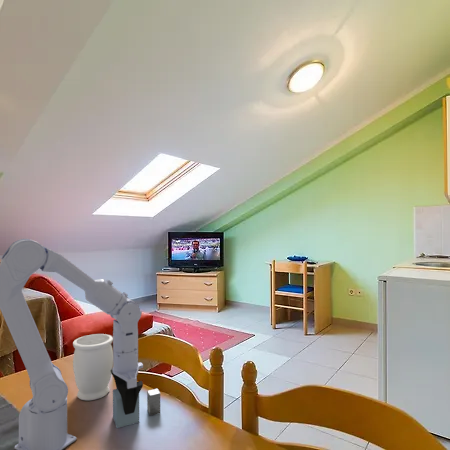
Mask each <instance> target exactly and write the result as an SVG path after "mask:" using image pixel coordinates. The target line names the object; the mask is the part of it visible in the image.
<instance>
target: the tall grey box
mask: <svg viewBox="0 0 450 450" xmlns="http://www.w3.org/2000/svg"><path fill="white" fill-rule="evenodd" d="M112 418H113V421H114V424H115V427H116V429H119V428H122V427H127V426H130V425H134V424H137V423H140V394H139V395H138V398H137V402H136V407H135V411H134V413H131V414H127V415H125V413H124V409H123V403H122V398H121V395H120V393H119V391H118V389H117V388H115V389H112Z"/></svg>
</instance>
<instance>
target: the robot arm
mask: <svg viewBox="0 0 450 450" xmlns="http://www.w3.org/2000/svg"><path fill="white" fill-rule="evenodd" d="M1 256H2V257H1V260H0V311H1V314H2V316H3V318H4V321H5V323H6V326H7V327H8V331H9V332H10V334H11V337H12V340H13V341H14V345H15V347H16V349H17V350H18V354H19V355H20V357H21V360H22V362H23V364H24V367H25V369H26V372H27V375H28V378H29V387H30V389H31V393H32V397H31V399H29V400H28V401H26V403H24V405H22V408H21V409H20V412H19V414H18V443H17V444H15V445H14V450H64V449H65V448H66V447H68V446H69V445H71V444H72V443H74V442H75V441H76V440H77V437H76V436H74V435H73V434H69V433H68V395H69V388H68V387H69V386H68V385H67V383H66V382H65V380H64V378H63V376H62V371H61V369H60V368H59V366H56V365H55V364H54V363H53V362H52V359H51V357H50V355H49V353H48V351H47V348H46V346H45V343H44V341H43V339H42V337H41V334H40V332H39V329H38V327H37V324H36V322H35V320H34V317H33V315H32V313H31V310H30V308H29V306H28V303H27V301H26V298H25V296H24V293H23V291H22V290H23V289H24V287H25V286H26V283H27V282H28V280H29V279H30V277H31V276H32V275H33V274H34V273H35V272H37V271H38V270H39V269H40V270H41V271H42V272H46V273H47V272H48V273H57V274H58V275H60V276H62V277H63V278H64V279H66V280H67V281H69V282H70V283H72V284H73V285H75V286H77V287H78V288H79V289H81V290H83V291H84V296H85V300H86V301H87V302H89V303H90V304H92V305H93V306H95V307H96V308H98V309H99V310H101V311H102V312H104V313H105V314H107V315H109V316H110V317H111V318H112V319H113V323H112V324H113V325H112V326H113V327H112V329H113V331H112V337H113V342H112V351H113V366H112V369H111V376H112V377H113V381H114V382H115V386H116V388H115V389H118V391H119V393H120V395H121V398H122V403H123V409H124V413H125V415H127V414H131V413H134V411H135V407H136V402H137V398H138V395H139V396H140V392H141V391H142V388H143V386H144V382H143V381H142V380H139V381H138V379H137V376H138V374H139V370H140V369H143V368H144V364H143V362H139V328H138V327H139V326H138V323H139V320H140V319H141V317H142V313H143V311H142V310H141V307H140V305H139V304H138V303H137V302H136V301H134V300H132V299H130V298H129V297H128V296H129V295H128V293H126V292H121V290H119V289H118V288H116V287H114V286H113V284H114V283H113V281H111V280H109V279H104V278H100V279H99V278H98V279H93V278H92V277H91V276H89V275H88V274H87V273H85V271H83V270H82V269H80V268H79V267H78V266H76V264H74V263H72V262H71V261H70V260H68V258H66V257H65V256H64V255H62V254H60V253H59V252H56V251H54V250H53V249H50V248H48V247H45V246H43V245H42V244H41V243H39V242H38V241H35V240H33V239H30V238H21V239H17V240H15V241H14V242H12V243H11V244H10V245H9V246H8V248H7V249H6V250H5V252H4V253H3V255H1Z"/></svg>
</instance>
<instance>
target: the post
mask: <svg viewBox="0 0 450 450" xmlns="http://www.w3.org/2000/svg"><path fill="white" fill-rule="evenodd" d="M146 395H147V399H146V402H147V403H146V407H147V408H146V409H147V413H148V415H149V416H150V417H152V416H156V415H159V414H161V392H160V390H159V389H158V388H154V389H153V388H152V389H149V390H147V391H146Z"/></svg>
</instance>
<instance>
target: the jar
mask: <svg viewBox="0 0 450 450" xmlns="http://www.w3.org/2000/svg"><path fill="white" fill-rule="evenodd" d="M112 344H113V335H111V334H106V333H105V334H104V333H92V334H89V335H83V336H81V337H78V338H76V339H74V341H73V342H72V346H73V348H74V351H73V359H72V369H73V375H74V381H75V385H76V387H77V389H78V391H77V394H76V396H77V398H78V399H79V400H81V401H95V400H99V399H102V398H104V397H105V396H107V395H108V394H109V392H110V387H109V384H110V380H111V377H112V374H111V369H113V345H112Z"/></svg>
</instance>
